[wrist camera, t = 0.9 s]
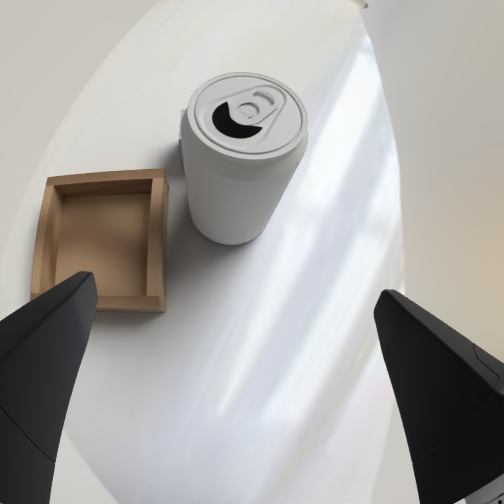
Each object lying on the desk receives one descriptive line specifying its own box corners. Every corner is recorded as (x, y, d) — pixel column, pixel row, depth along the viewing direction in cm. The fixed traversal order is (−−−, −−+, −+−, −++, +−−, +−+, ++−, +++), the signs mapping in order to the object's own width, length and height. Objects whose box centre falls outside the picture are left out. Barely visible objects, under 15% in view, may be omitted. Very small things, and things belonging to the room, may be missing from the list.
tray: (165, 311, 22) (159, 308, 19) (49, 308, 20) (30, 304, 17) (168, 187, 24) (164, 168, 21) (62, 193, 23) (47, 177, 20)
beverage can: (173, 210, 24) (150, 110, 12) (228, 161, 25) (244, 51, 14) (232, 264, 23) (254, 195, 12) (285, 208, 25) (340, 116, 14)
